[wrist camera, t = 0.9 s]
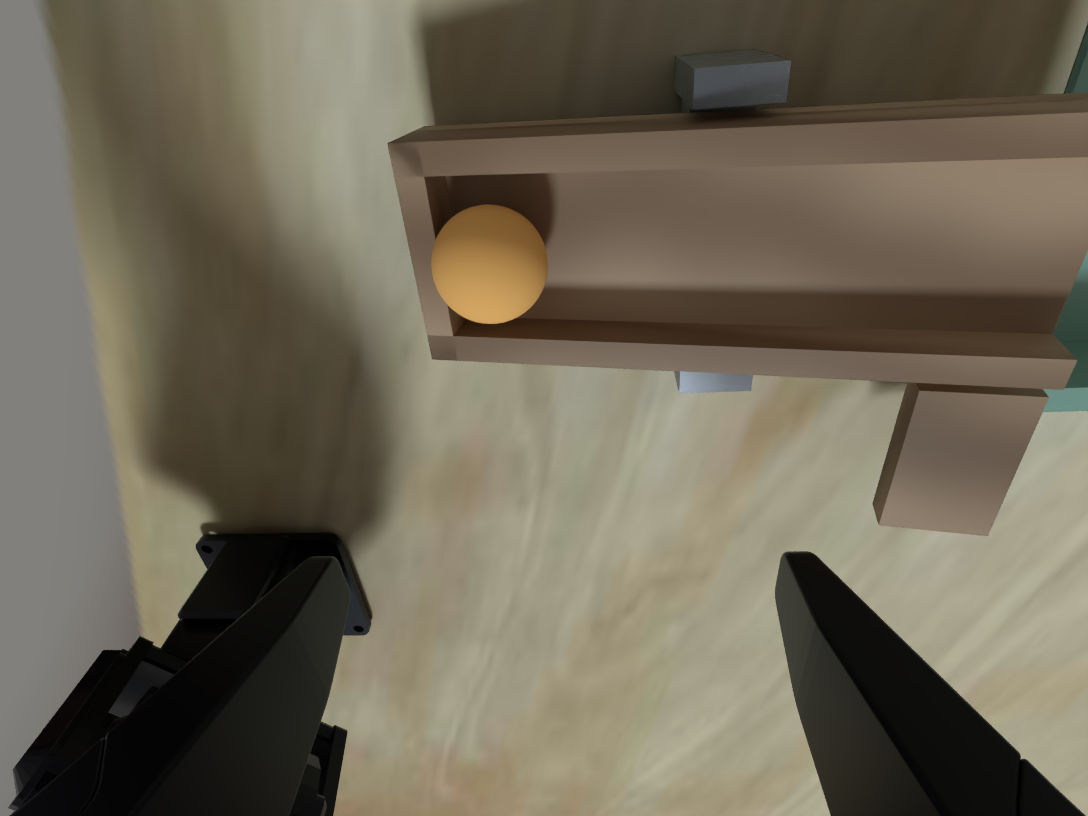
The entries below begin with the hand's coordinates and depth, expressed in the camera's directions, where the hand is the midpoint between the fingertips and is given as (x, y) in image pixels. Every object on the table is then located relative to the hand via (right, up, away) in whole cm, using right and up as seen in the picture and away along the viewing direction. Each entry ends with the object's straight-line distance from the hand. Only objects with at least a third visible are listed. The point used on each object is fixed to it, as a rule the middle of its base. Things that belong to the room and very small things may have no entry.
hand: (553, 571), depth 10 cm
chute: (+5, +5, +8) cm, 11 cm away
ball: (-2, +6, +6) cm, 9 cm away
